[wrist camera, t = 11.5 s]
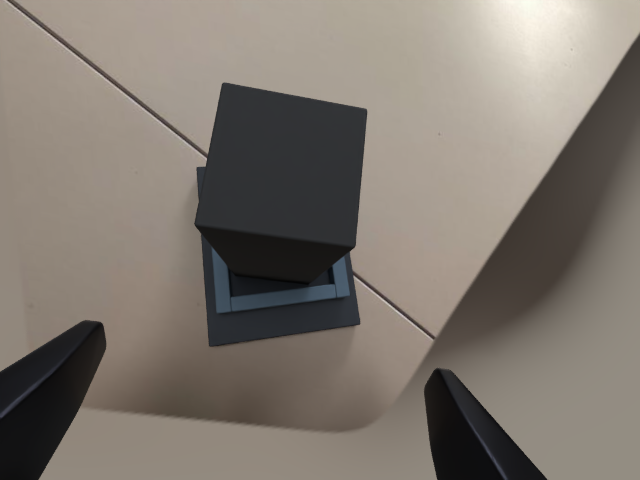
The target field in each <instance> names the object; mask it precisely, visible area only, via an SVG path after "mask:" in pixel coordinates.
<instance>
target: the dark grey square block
mask: <svg viewBox="0 0 640 480" xmlns="http://www.w3.org/2000/svg"><path fill="white" fill-rule="evenodd" d="M366 120H367V109H364V108H359V107H353V106H348V105H343V104H337V103H332V102H327V101H321V100H316V99H310V98H305V97H300V96H294V95H289V94H284V93H278V92H273V91H267V90H262V89H257V88H251V87H246V86H240V85H235V84H230V83H223V84H222V87H221V92H220V97H219V102H218V107H217V112H216V117H215V122H214V127H213V132H212V137H211V143H210V148H209V153H208V158H207V163H206V168H205V173H204V178H203V183H202V188H201V193H200V198H199V203H198V208H197V213H196V218H195V223H194V224H195V226H196V228H197V229H198V230H199V231H200V233H201V234H202V235H203V236H204V238H205V239H206V240H207V241H208V242H209V244H210V245H211V246H212V247H213V249H214V250H215V251H216V252H217V254H218V255H219V256H220V257H221V259H222V260H223V261H224V262H225V264H226V265H227V266H228V267H229V269H230V270H231V271H232V272H233V274H234V275H235V276H241V277H249V278H257V279H265V280H273V281H281V282H289V283H297V284H305V285H309V284H310V283H311V282H312V281H314V280H315V279H316V278H317V277H319V276H320V275H321V274H322V273H324V272H325V271H326V270H327V269H329V268H330V267H331V266H332V265H334V264H335V263H336V262H337V261H339V260H340V259H341V258H342V257H343V256H345V255H346V254H347V253H348V252H350V251H351V250H352V249H353V248H355V245H356V234H357V222H358V211H359V200H360V188H361V177H362V166H363V154H364V143H365V132H366Z"/></svg>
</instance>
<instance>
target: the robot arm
mask: <svg viewBox="0 0 640 480" xmlns="http://www.w3.org/2000/svg"><path fill="white" fill-rule="evenodd" d="M105 350H106V338H105V332H104V326H103V324H102V323H101V322H98V321H90V320H85V321H82V322H80V323H78V324H77V325H75V326H74V327H72V328H70V329H69V330H67V331H65V332H64V333H62V334H61V335H59V336H57V337H56V338H54V339H52V340H51V341H49V342H48V343H46V344H44V345H43V346H41V347H39V348H38V349H36V350H35V351H33V352H31V353H30V354H28V355H27V356H25V357H23V358H22V359H20V360H18V361H17V362H15V363H14V364H12V365H10V366H9V367H7V368H5V369H4V370H2V371H1V372H0V480H38V479H39V478H40V476H41V474H42V473H43V471H44V469H45V468H46V466H47V464H48V462H49V460H50V459H51V457H52V456H53V454H54V452H55V450H56V449H57V447H58V445H59V444H60V442H61V440H62V438H63V437H64V435H65V433H66V431H67V430H68V428H69V426H70V425H71V423H72V421H73V419H74V418H75V416H76V414H77V412H78V410H79V408H80V406H81V404H82V402H83V400H84V397H85V395H86V393H87V391H88V388H89V386H90V384H91V382H92V380H93V377H94V375H95V373H96V371H97V368H98V366H99V364H100V362H101V359H102V357H103V355H104V353H105ZM424 396H425V405H426V413H427V423H428V431H429V440H430V446H431V452H432V458H433V462H434V467H435V471H436V476H437V480H547V479H546V478H545V476H544V475H543V474H542V473H541V472H540V471H539V470H538V468H537V467H536V466H535V465H534V464H533V463H532V462H531V460H530V459H529V458H528V457H527V456H526V455H525V454H524V452H523V451H522V450H521V449H520V448H519V447H518V446H517V444H516V443H515V442H514V441H513V440H512V439H511V438H510V437H509V435H508V434H507V433H506V432H505V431H504V430H503V429H502V427H501V426H500V425H499V424H498V423H497V422H496V421H495V419H494V418H493V417H492V416H491V415H490V414H489V413H488V412H487V410H486V409H485V408H484V407H483V406H482V405H481V404H480V402H479V401H478V400H477V399H476V398H475V397H474V396H473V395H472V393H471V392H470V391H469V390H468V389H467V388H466V387H465V385H464V384H463V383H462V382H461V381H460V380H459V379H458V377H457V376H456V375H454V373H453V372H452V371H451V370H449V369H441V368H436V369H435V370H434V371H433V373H432V374H431V376H430V378H429V380H428V381H427V383H426V385H425V388H424Z"/></svg>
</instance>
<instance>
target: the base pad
mask: <svg viewBox="0 0 640 480" xmlns="http://www.w3.org/2000/svg"><path fill="white" fill-rule="evenodd" d="M205 168H206V167H197V182H198V196H199V198H200V193H201V188H202V183H203V178H204V173H205ZM201 239H202V253H203V267H204V281H205V295H206V309H207V324H208V338H209V346H210V347H211V346H218V345H224V344H231V343H238V342H245V341H252V340H258V339H265V338H272V337H279V336H286V335H292V334H299V333H306V332H313V331H320V330H326V329H333V328H340V327H347V326H354V325H360V317H359V311H358V304H357V298H356V291H355V285H354V278H353V272H352V265H351V258H350V252H348V253H347V254H346V255H345V256H343V257H342V258H341V259H340V260H339V261H337V262H336V263H335V264H334V265H332V266H331V267H330V268H329V269H327V270H326V271H325V272H324V273H322V274H321V275H320V276H319V277H317V278H316V279H315V280H314V281H312V282H311V283H310V284H309V285H305V284H297V283H289V282H281V281H273V280H265V279H257V278H249V277H241V276H235V275H234V274H233V272H232V271H231V270H230V269H229V267H228V266H227V265H226V264H225V262H224V261H223V260H222V259H221V257H220V256H219V255H218V254H217V252H216V251H215V250H214V249H213V247H212V246H211V245H210V244H209V242H208V241H207V240H206V239H205V238H204V236H203V235H202V234H201Z"/></svg>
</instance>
